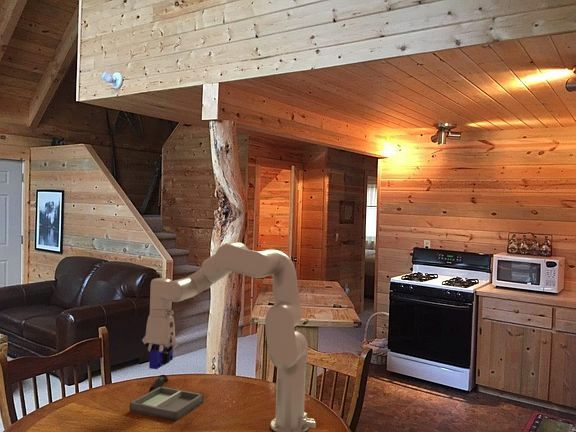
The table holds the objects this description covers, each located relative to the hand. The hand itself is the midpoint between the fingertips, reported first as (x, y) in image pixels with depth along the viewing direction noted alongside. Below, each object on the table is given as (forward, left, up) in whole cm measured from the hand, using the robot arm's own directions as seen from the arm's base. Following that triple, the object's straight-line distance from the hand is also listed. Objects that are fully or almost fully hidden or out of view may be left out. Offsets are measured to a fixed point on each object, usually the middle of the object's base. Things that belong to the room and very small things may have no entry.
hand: (159, 362), depth 183 cm
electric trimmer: (+11, -16, -16) cm, 25 cm away
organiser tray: (-4, 0, -16) cm, 16 cm away
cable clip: (0, 0, -1) cm, 1 cm away
